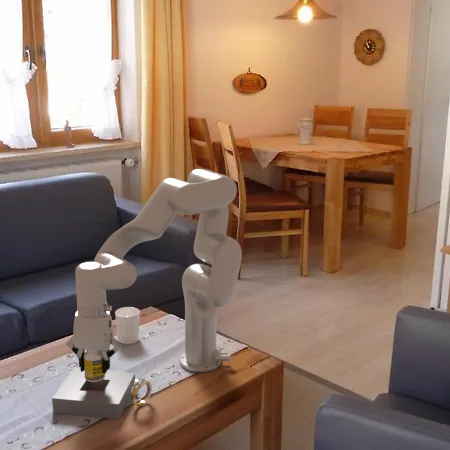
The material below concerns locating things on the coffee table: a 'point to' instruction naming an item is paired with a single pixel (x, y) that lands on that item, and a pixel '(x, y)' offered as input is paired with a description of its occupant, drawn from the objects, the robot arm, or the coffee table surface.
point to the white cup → (127, 325)
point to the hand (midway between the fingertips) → (94, 369)
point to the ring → (133, 393)
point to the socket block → (94, 395)
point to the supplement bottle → (93, 365)
